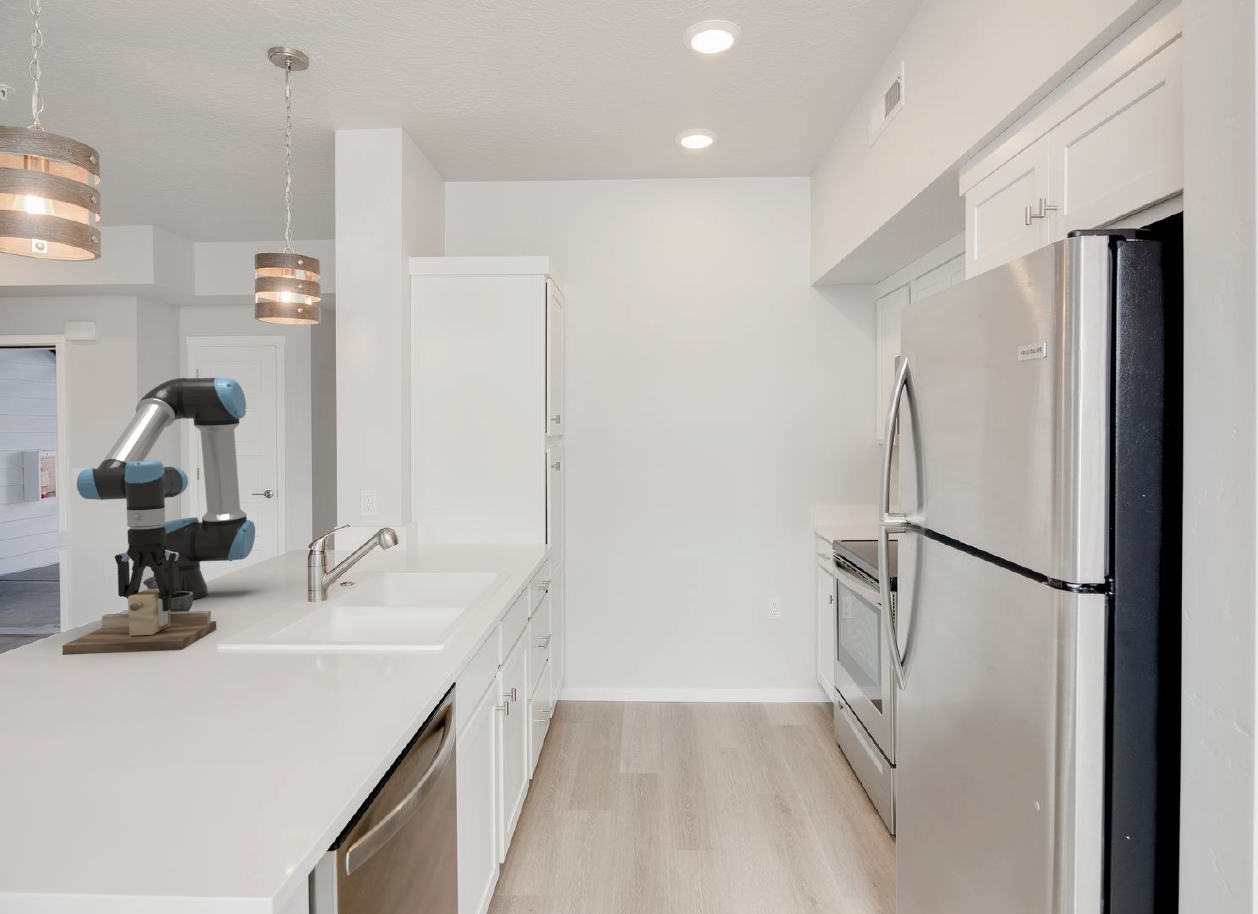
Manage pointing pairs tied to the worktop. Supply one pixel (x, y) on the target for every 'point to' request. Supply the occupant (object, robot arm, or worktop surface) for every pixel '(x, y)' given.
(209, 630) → the walnut board
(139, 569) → the robot arm
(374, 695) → the worktop surface
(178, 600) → the mortar and pestle
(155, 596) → the marking gauge
